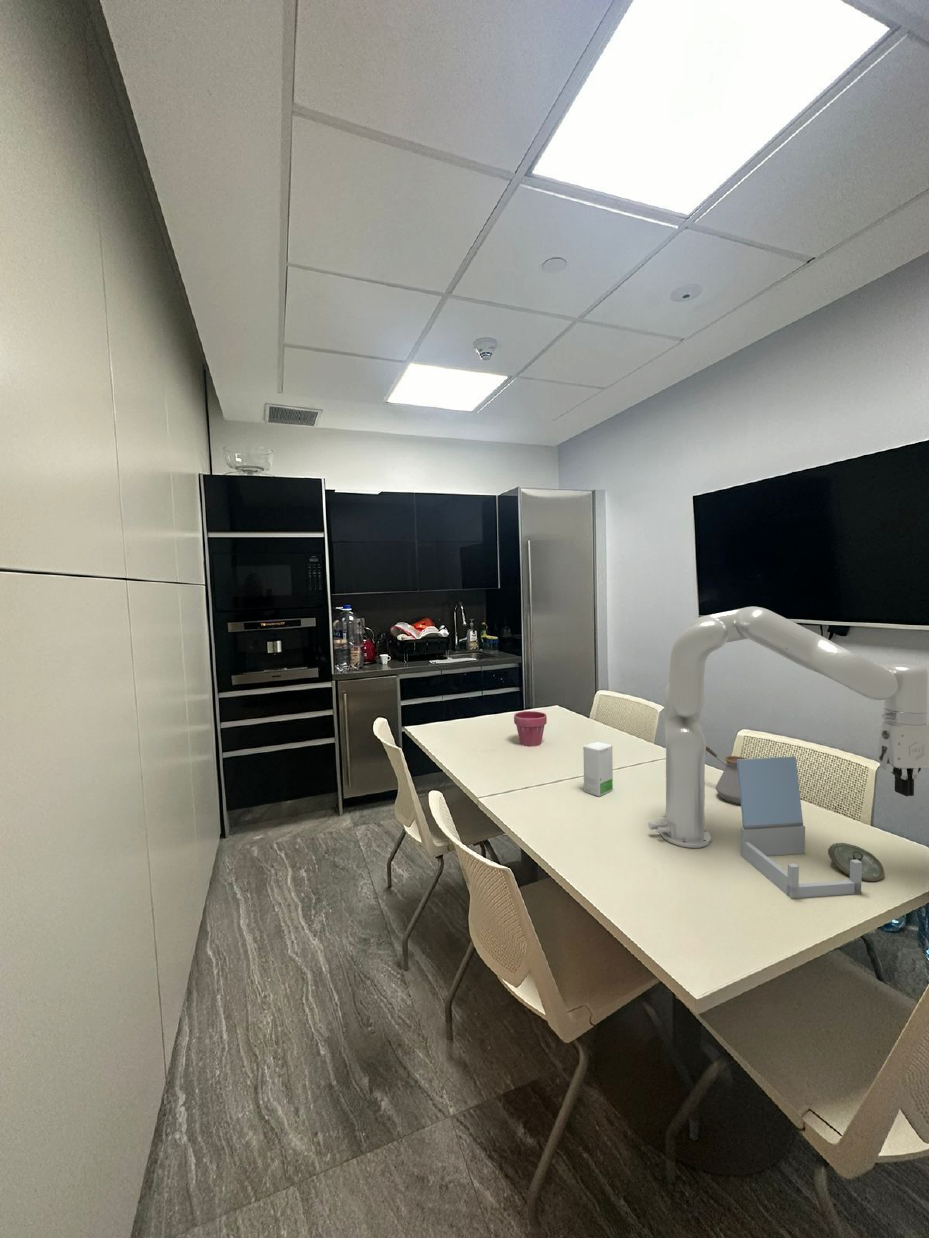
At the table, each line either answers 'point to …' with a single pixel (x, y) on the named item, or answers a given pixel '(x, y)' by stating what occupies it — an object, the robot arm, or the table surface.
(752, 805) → the cover
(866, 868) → the lid
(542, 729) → the plant pot
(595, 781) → the skincare box
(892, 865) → the table surface
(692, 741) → the robot arm
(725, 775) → the coffee pot
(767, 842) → the low-walled grey tray
